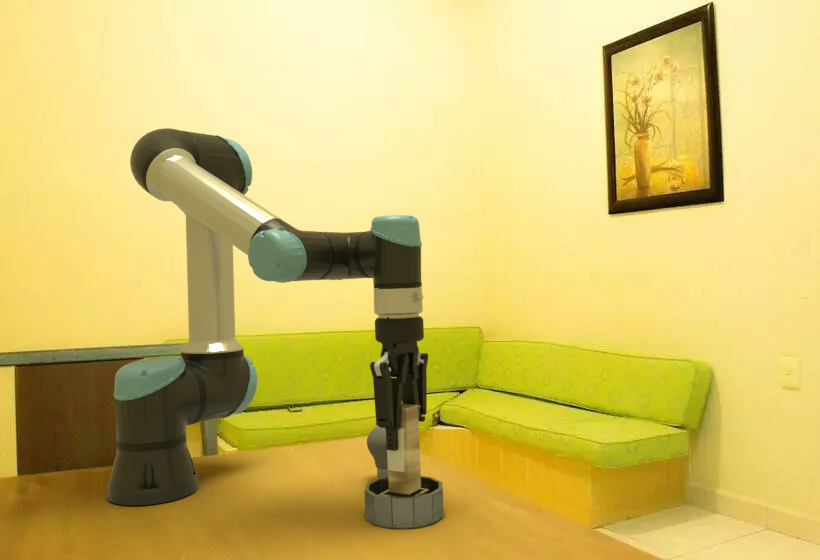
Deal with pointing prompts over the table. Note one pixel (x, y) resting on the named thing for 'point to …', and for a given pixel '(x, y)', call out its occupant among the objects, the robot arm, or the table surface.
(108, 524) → the table surface
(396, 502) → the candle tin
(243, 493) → the table surface
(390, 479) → the tan square post
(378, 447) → the light bulb
